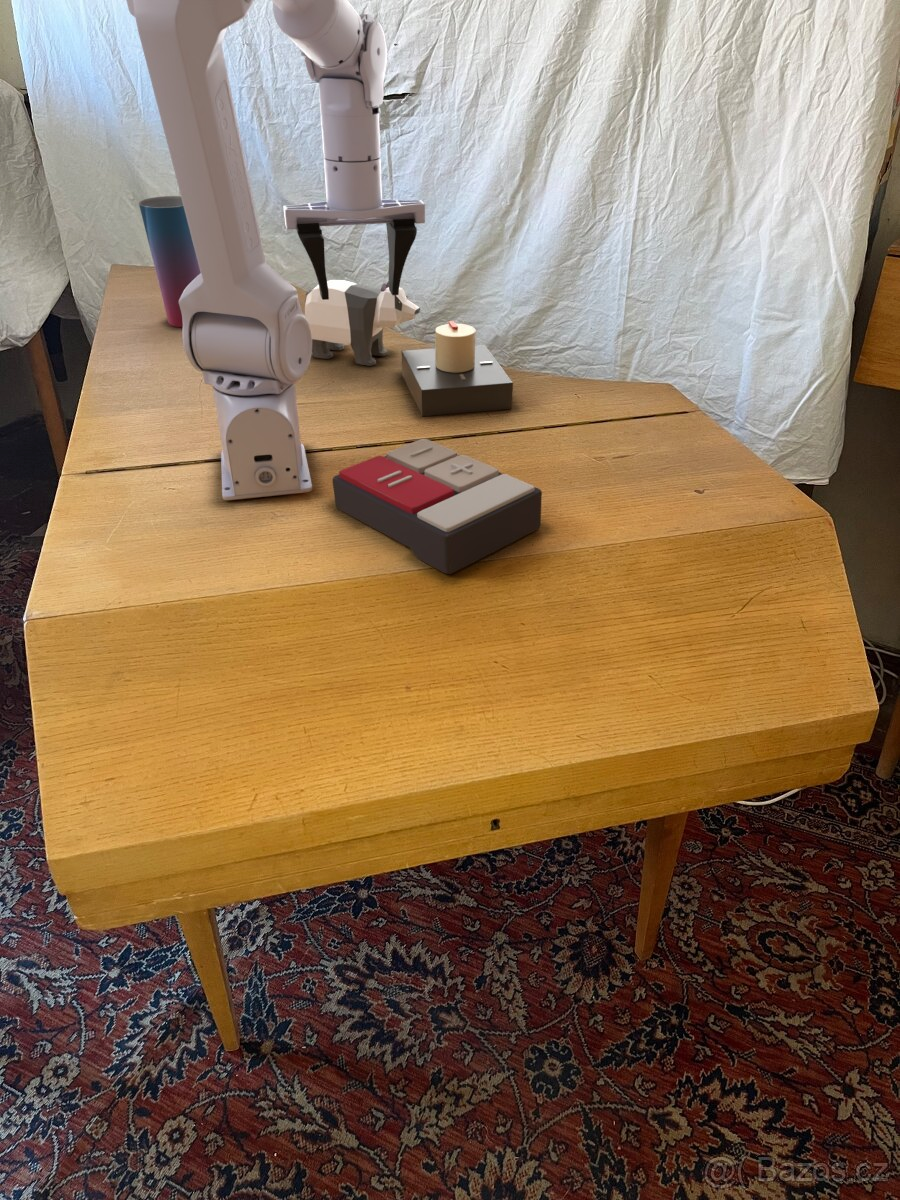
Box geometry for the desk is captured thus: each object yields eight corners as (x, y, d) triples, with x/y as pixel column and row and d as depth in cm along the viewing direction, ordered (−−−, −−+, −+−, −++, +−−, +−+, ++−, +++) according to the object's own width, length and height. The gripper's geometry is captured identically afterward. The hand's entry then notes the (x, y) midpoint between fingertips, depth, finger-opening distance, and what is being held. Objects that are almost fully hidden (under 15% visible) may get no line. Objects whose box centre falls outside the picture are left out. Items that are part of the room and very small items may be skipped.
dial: (479, 371, 94) (480, 332, 92) (440, 374, 93) (440, 335, 91) (469, 357, 98) (470, 319, 95) (431, 359, 97) (431, 321, 94)
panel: (511, 409, 94) (513, 381, 92) (421, 416, 92) (421, 388, 90) (484, 369, 103) (484, 343, 101) (402, 375, 101) (401, 349, 99)
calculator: (424, 432, 80) (544, 481, 71) (426, 474, 82) (542, 527, 73) (328, 469, 74) (446, 528, 65) (334, 513, 76) (448, 576, 67)
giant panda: (301, 357, 106) (293, 277, 100) (322, 342, 110) (315, 265, 104) (411, 373, 102) (409, 291, 96) (428, 357, 106) (427, 278, 100)
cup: (160, 315, 118) (138, 197, 109) (211, 311, 120) (193, 194, 111) (162, 331, 113) (139, 208, 104) (215, 327, 114) (197, 205, 106)
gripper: (414, 149, 91) (416, 280, 99) (276, 153, 88) (289, 288, 96) (428, 160, 85) (429, 298, 93) (281, 165, 83) (295, 307, 91)
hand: (359, 294), depth 94 cm, fingers open, 7 cm apart
